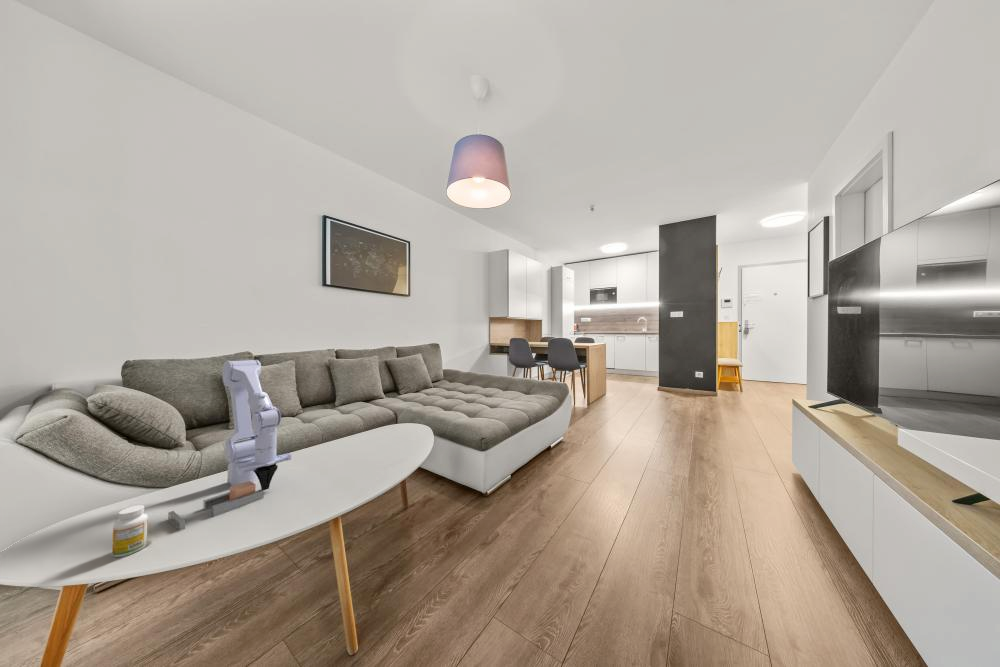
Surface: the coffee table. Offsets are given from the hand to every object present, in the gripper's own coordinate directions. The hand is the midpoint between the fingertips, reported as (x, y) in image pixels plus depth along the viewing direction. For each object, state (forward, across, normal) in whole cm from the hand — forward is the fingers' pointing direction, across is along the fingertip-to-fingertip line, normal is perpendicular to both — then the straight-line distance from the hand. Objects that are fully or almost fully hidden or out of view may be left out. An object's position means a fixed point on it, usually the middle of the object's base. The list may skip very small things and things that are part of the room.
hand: (265, 488), depth 101 cm
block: (+1, -6, 0) cm, 6 cm away
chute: (+2, -10, 0) cm, 10 cm away
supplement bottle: (+2, -29, -3) cm, 29 cm away
